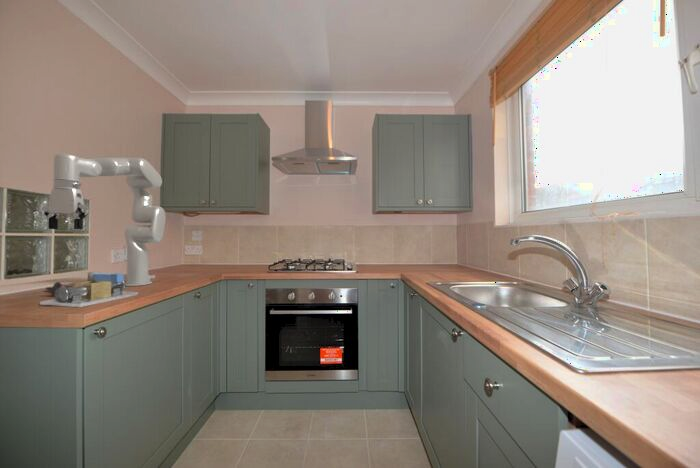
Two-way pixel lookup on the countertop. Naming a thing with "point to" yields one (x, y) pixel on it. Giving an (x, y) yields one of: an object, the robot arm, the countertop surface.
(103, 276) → the lever
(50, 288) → the valve
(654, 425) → the countertop surface
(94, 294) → the pipe valve
